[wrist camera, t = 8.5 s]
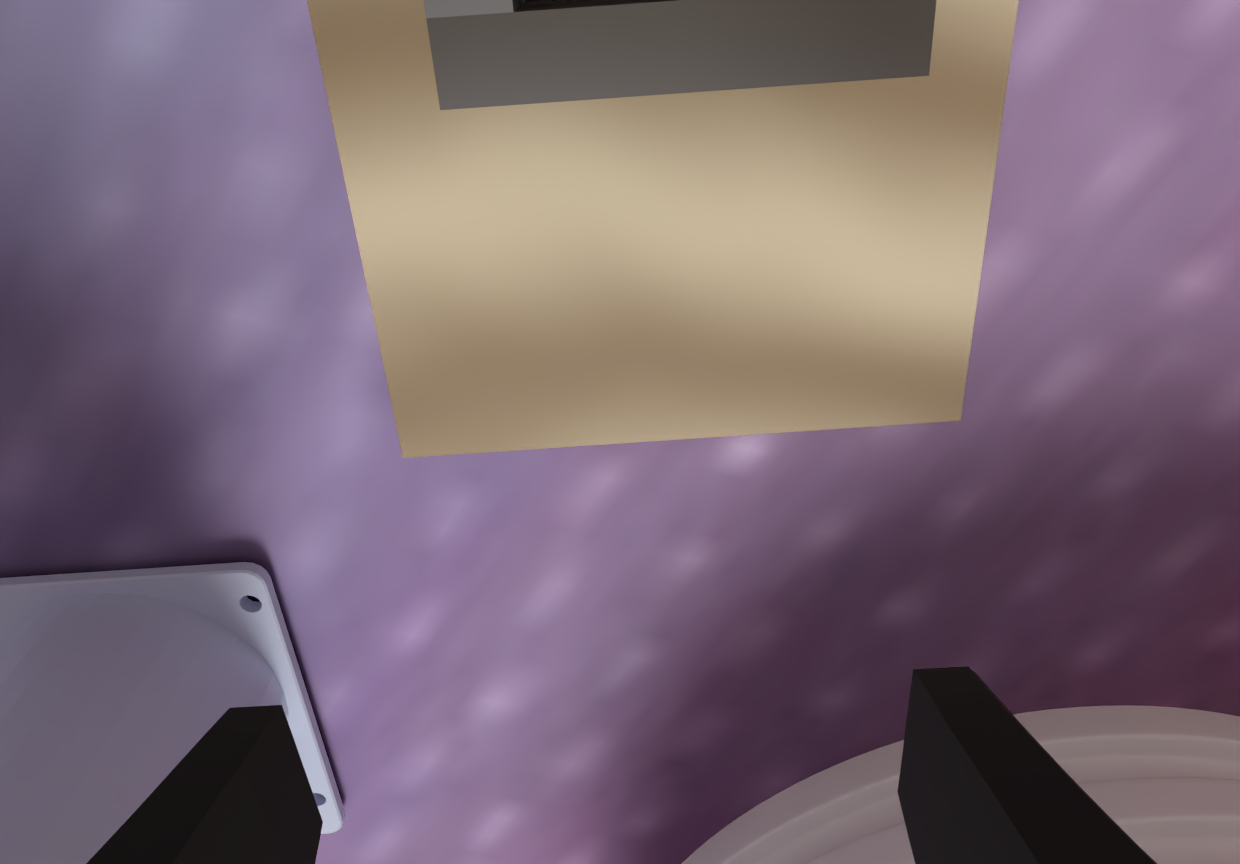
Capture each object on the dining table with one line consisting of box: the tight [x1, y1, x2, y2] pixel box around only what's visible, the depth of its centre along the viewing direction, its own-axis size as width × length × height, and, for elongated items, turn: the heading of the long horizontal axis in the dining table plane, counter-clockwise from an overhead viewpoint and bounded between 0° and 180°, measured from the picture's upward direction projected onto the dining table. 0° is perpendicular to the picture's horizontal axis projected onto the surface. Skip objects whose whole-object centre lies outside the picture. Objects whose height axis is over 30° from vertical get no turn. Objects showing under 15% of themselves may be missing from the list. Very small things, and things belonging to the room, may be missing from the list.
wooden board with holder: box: [307, 0, 1019, 458], centre depth 15 cm, size 15×12×4 cm
